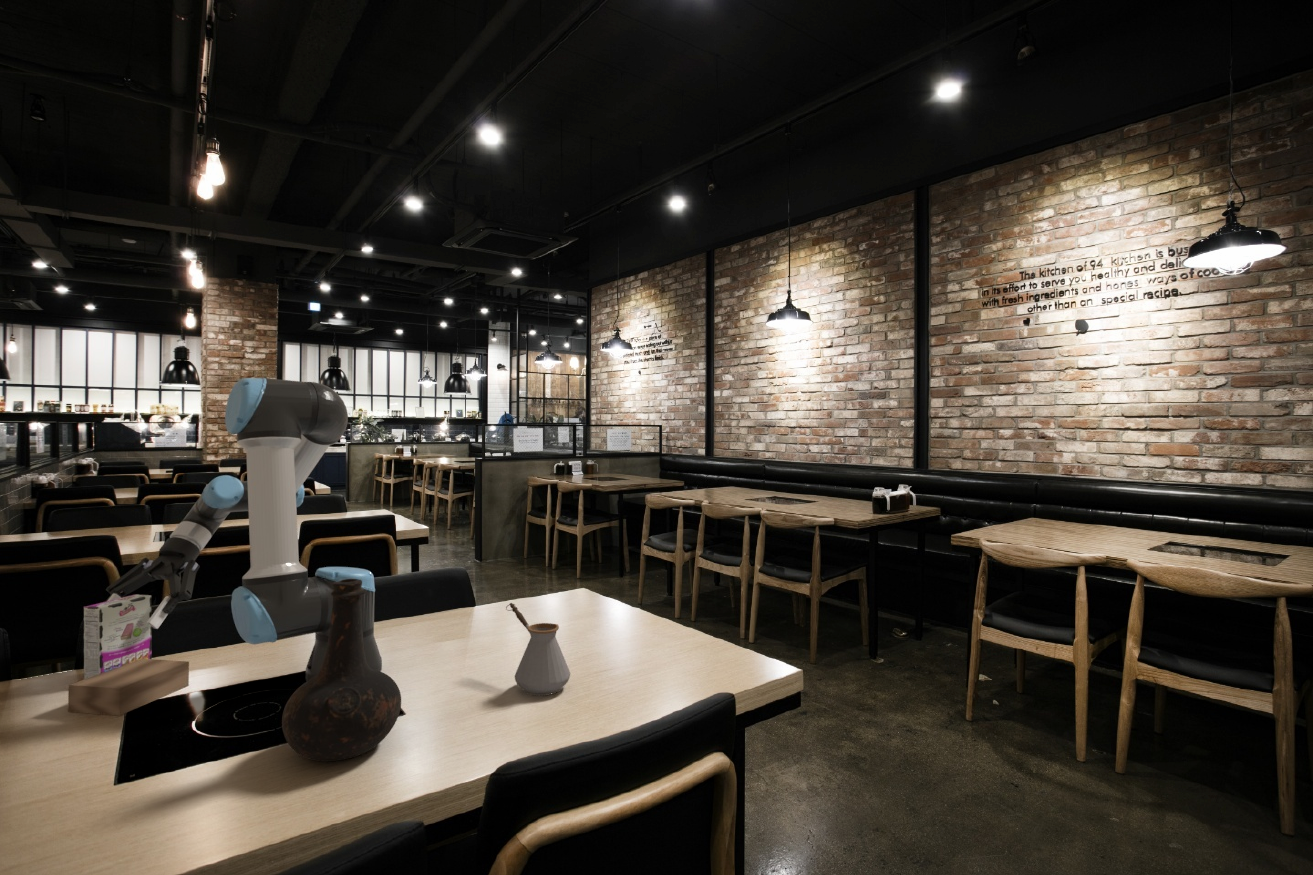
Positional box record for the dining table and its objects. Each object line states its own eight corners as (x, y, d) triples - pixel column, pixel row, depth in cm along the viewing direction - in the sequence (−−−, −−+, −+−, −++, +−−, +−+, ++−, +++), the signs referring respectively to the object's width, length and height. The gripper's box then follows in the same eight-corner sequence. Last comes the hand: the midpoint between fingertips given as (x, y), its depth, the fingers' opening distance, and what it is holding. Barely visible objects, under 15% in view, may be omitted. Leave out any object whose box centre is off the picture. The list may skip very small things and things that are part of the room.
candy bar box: (134, 666, 146) (135, 593, 146) (152, 668, 145) (153, 594, 145) (80, 684, 135) (82, 605, 135) (100, 686, 134) (101, 607, 134)
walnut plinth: (188, 685, 135) (188, 661, 135) (119, 715, 120) (120, 688, 120) (142, 682, 136) (142, 658, 136) (68, 711, 121) (68, 684, 121)
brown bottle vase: (274, 785, 96) (276, 597, 96) (288, 735, 112) (291, 574, 113) (402, 763, 103) (405, 587, 103) (399, 718, 119) (401, 567, 120)
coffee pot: (580, 690, 134) (581, 618, 134) (530, 704, 127) (531, 627, 127) (531, 662, 150) (532, 598, 151) (485, 673, 143) (486, 605, 143)
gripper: (239, 555, 158) (185, 635, 143) (149, 552, 161) (88, 629, 147) (222, 537, 153) (164, 618, 138) (129, 533, 156) (63, 612, 141)
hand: (124, 624), depth 142 cm, fingers open, 13 cm apart
